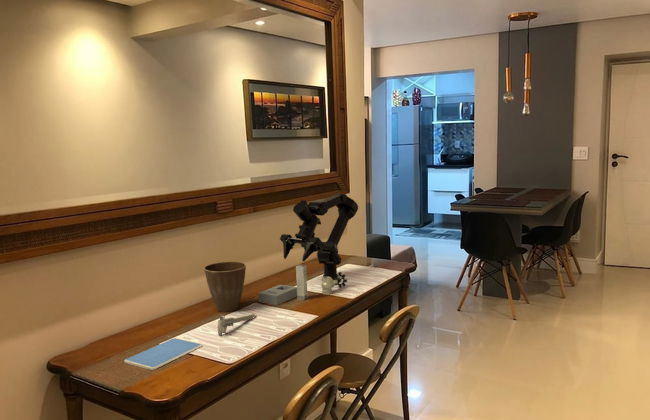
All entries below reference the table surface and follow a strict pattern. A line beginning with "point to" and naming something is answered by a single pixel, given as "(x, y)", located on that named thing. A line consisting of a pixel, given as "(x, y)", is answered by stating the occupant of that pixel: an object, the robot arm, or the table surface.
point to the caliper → (231, 322)
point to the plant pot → (226, 284)
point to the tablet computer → (162, 354)
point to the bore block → (277, 294)
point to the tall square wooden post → (301, 282)
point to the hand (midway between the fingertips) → (293, 259)
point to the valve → (332, 283)
